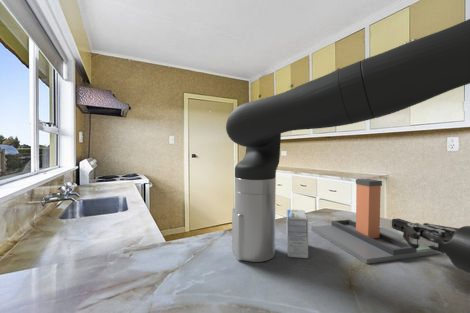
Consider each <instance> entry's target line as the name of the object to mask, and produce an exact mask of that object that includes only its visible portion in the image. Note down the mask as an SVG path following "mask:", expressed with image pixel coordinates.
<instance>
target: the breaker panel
mask: <svg viewBox="0 0 470 313" xmlns="http://www.w3.org/2000/svg"><path fill="white" fill-rule="evenodd" d="M310 228H311V231H312V232H314V233H315V234H318V235H319V236H321V237H322V238H324V239H325V240H326V241H328V242H330V243H332V244H334V245H335V246H336V247H339V248H340V249H342V250H344V251H345V252H347V253H348V254H349V255H351V256H353V257H354V258H356V259H357V260H360V262H363V263H364V264H373V263H374V264H377V263H383V262H389V261H397V260H402V259H403V260H404V259H410V258H418V257H425V256H432V255H434V256H435V255H439V254H440V253H438V252H436V251H434V250H432V249H430V248H429V247H427V246H425V245H420V246H419V248H412V247H410V245H409V244H408V243H407V241H406V240H405V239H404V238H403V234H400V233H399V232H395V231H394V230H391V229H388V228H385V227H383V226H380V237H379V238H371V237H369V236H367V235H364V234H362V233H360V232H358V231H356V221H355V220H352V219H338V220H331V223H330V224H326V225H316V226H315V225H314V226H311V227H310Z"/></svg>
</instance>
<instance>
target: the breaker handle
mask: <svg viewBox="0 0 470 313" xmlns="http://www.w3.org/2000/svg"><path fill="white" fill-rule="evenodd" d="M355 184H356V206H355V207H356V209H355V222H356V231H358V232H360V233H362V234H364V235H367V236H369V237H371V238H379V237H380V227H381V188H382V187H381V186H383V181H382V180H378V179H372V178H356V179H355Z"/></svg>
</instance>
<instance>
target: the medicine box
mask: <svg viewBox="0 0 470 313" xmlns="http://www.w3.org/2000/svg"><path fill="white" fill-rule="evenodd" d="M286 247H287V249H286V250H287V257H288V258H289V257H290V258H297V259H299V258H300V259H308V258H309V219H308V216H307V215H306V211H305V210H302V209H287V210H286Z"/></svg>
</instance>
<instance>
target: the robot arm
mask: <svg viewBox="0 0 470 313" xmlns="http://www.w3.org/2000/svg"><path fill="white" fill-rule="evenodd" d="M466 85H470V18H468V19H467V20H465V21H461V22H460V23H457V24H454V25H452V26H449V27H447V28H445V29H441V30H440V31H436V32H433V33H431V34H427V35H425V36H422V37H420V38H418V39H414V40H412V41H409V42H407V43H404V44H401V45H399V46H397V47H394V48H391V49H389V50H386V51H383V52H381V53H378V54H375V55H373V56H368V57H366V58H364V59H362V60H359V61H356V62H354V63H351V64H349V65H346V66H343V67H341V68H339V69H337V70H336V69H335V70H334V71H332V72H330V73H327V74H324V75H323V76H320V77H318V78H314V79H313V80H309V81H307V82H305V83H302V84H300V85H298V86H296V87H293V88H291V89H289V90H286V91H284V92H281V93H277V94H275V95H271V96H267V97H265V98H261V99H257V100H252V101H248V102H245V103H242V104H240V105H238V106H236V107H235V108H234V109H233V110H232V111H231V112H230V114H229V116H228V117H227V120H226V126H225V130H226V134H227V136H228V138H229V139H230V141H232V142H233V143H234V144H237V145H239V146H241V147H245V149H246V150H245V154H244V156H243V158H242V159H241V160H240V161H239V162H237V163H236V165H235V167H234V208H232V213H231V216H232V217H231V218H232V219H231V222H232V224H231V226H232V227H231V231H232V232H231V238H232V240H231V249H232V250H233V253H234V255H235V258H236V259H237V260H238V261H245V262H250V263H251V262H252V263H261V262H265V261H269V260H272V259H273V258H274V257H275V254H276V188H277V187H276V180H277V169H278V166H279V164H280V160H281V158H280V157H281V156H280V155H281V139H282V134H283V133H287V132H292V131H300V130H301V131H302V130H315V129H316V130H317V129H325V128H326V129H328V128H335V127H340V126H341V127H343V126H348V125H354V124H356V123H360V122H365V121H369V120H374V119H378V118H383V117H385V116H388V115H391V114H394V113H397V112H400V111H403V110H405V109H408V108H410V107H413V106H415V105H418V104H421V103H424V102H425V101H428V100H430V99H433V98H435V97H438V96H441V95H442V94H445V93H448V92H450V91H453V90H455V89H458V88H460V87H464V86H466ZM391 227H392V229H393V230H396V231H399V232H402V235H403V238H404V239H405V240H406V241H407V243H408V244H409V245H410V247H412V248H419V246H420V245H425V246H427V247H429V248H430V249H432V250H434V251H436V252H438V253H439V254H445V255H446V256H447V257H448V258H449V260H450V262H451V263H452V264H453V265H454V267H455V268H457V269H459V270H461V271H463V272H466V273H468V274H470V225H465V226H464V225H463V226H461V227H451V226H445V225H440V224H433V223H428V222H424V223H423V224H422V223H420V222H412V221H407V220H405V219H401V218H392V219H391Z"/></svg>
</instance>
